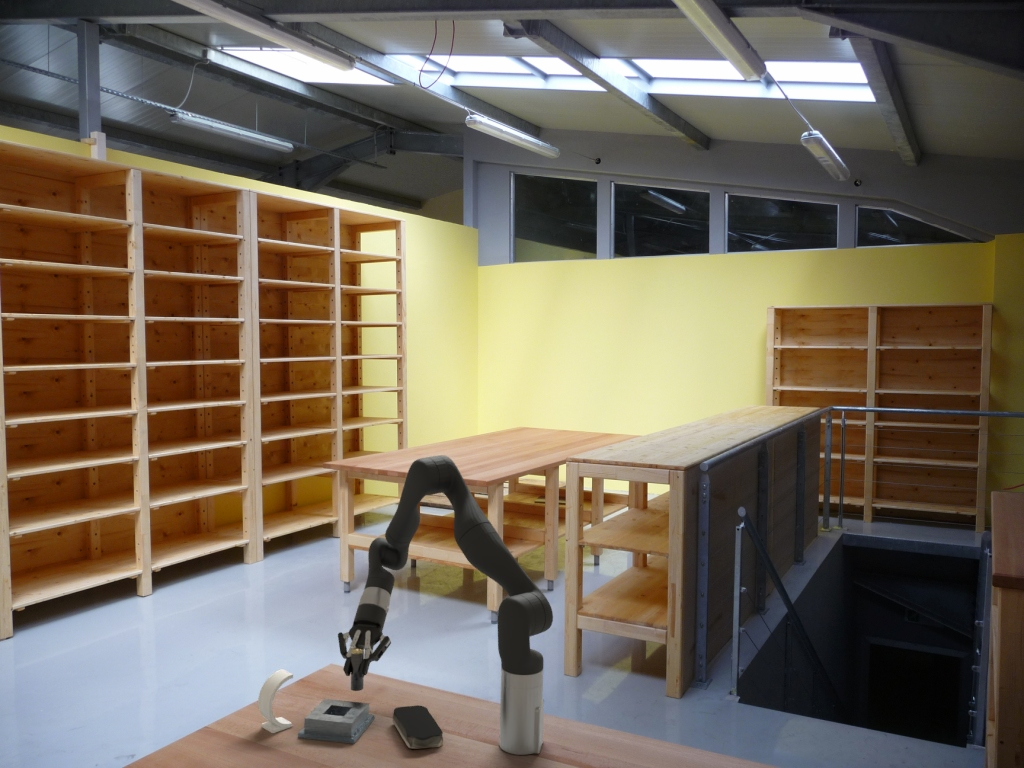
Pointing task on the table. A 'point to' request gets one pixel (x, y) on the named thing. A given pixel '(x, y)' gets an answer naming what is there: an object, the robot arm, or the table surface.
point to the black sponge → (417, 727)
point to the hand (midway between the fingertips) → (354, 674)
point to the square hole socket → (337, 721)
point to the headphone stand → (267, 701)
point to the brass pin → (356, 668)
